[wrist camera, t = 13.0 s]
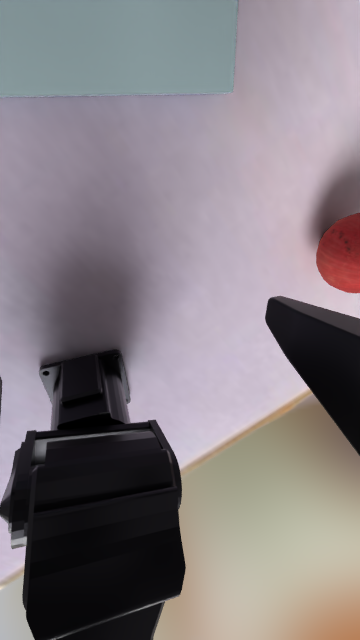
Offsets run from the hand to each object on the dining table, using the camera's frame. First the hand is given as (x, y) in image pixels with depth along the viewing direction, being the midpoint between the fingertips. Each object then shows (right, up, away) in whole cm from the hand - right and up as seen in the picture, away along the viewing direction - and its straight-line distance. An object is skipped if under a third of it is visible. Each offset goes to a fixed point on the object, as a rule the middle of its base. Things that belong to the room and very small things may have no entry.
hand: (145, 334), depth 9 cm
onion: (+14, +8, +16) cm, 22 cm away
